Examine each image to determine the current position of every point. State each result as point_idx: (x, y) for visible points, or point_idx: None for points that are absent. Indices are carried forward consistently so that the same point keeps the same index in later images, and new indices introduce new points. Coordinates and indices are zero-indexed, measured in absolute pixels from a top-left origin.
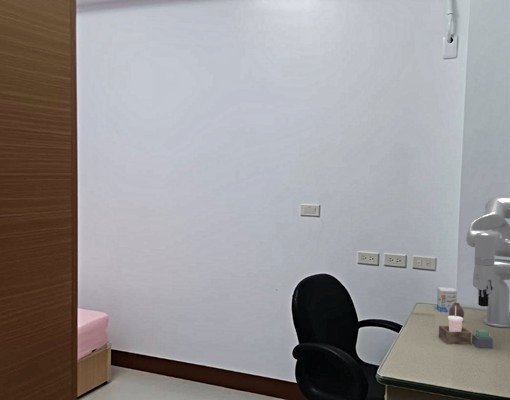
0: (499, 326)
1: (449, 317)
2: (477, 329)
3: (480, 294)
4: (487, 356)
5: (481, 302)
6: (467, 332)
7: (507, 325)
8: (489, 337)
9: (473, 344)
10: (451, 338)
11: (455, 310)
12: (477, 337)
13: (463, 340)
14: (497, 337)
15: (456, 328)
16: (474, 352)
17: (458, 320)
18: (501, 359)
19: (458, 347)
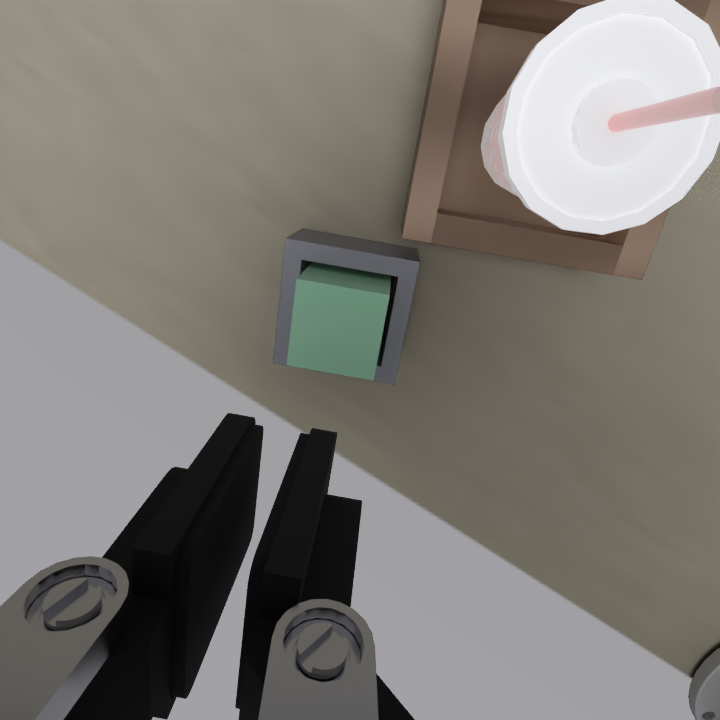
0: (712, 657)
1: (657, 26)
2: (379, 304)
3: (269, 655)
4: (118, 187)
5: (199, 465)
6: (412, 203)
7: (695, 702)
8: None
9: (388, 244)
10: (440, 26)
11: (665, 103)
12: (319, 252)
13: (414, 161)
14: (515, 514)
15: (501, 109)
16: (206, 135)
17: (506, 116)
18: (63, 254)
19: (336, 59)
